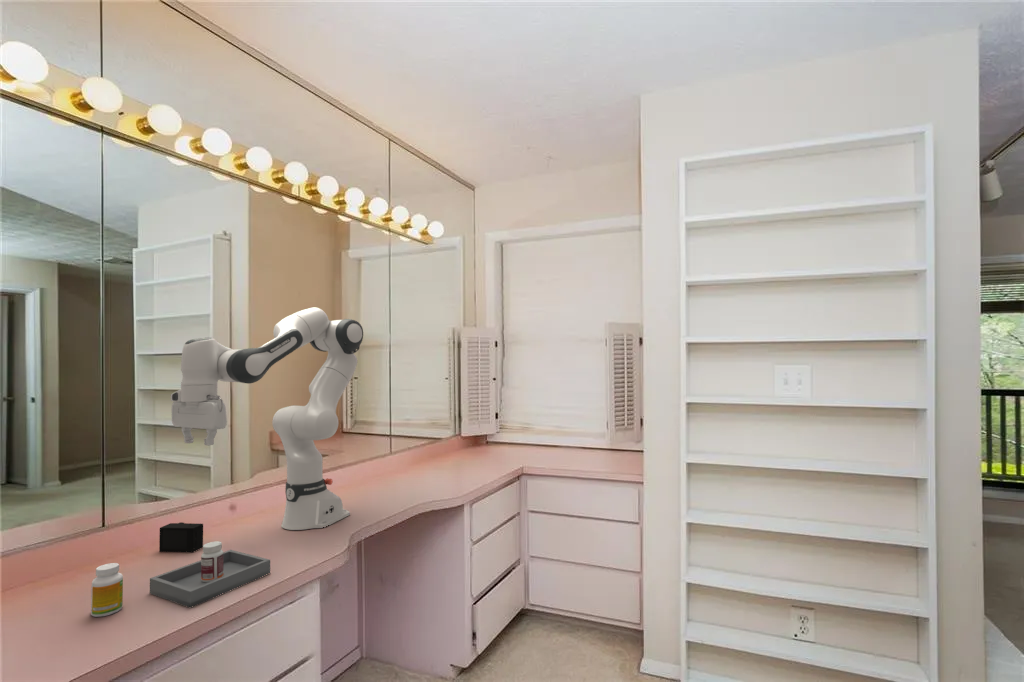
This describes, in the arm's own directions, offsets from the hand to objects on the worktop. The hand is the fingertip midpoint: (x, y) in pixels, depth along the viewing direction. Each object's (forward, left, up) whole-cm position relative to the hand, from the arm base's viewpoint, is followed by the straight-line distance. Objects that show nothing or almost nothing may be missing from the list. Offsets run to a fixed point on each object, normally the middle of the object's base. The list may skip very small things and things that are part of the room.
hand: (198, 444), depth 143 cm
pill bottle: (+9, +21, -30) cm, 38 cm away
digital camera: (-2, -10, -31) cm, 33 cm away
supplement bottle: (+28, +14, -31) cm, 44 cm away
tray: (+9, +21, -31) cm, 39 cm away
